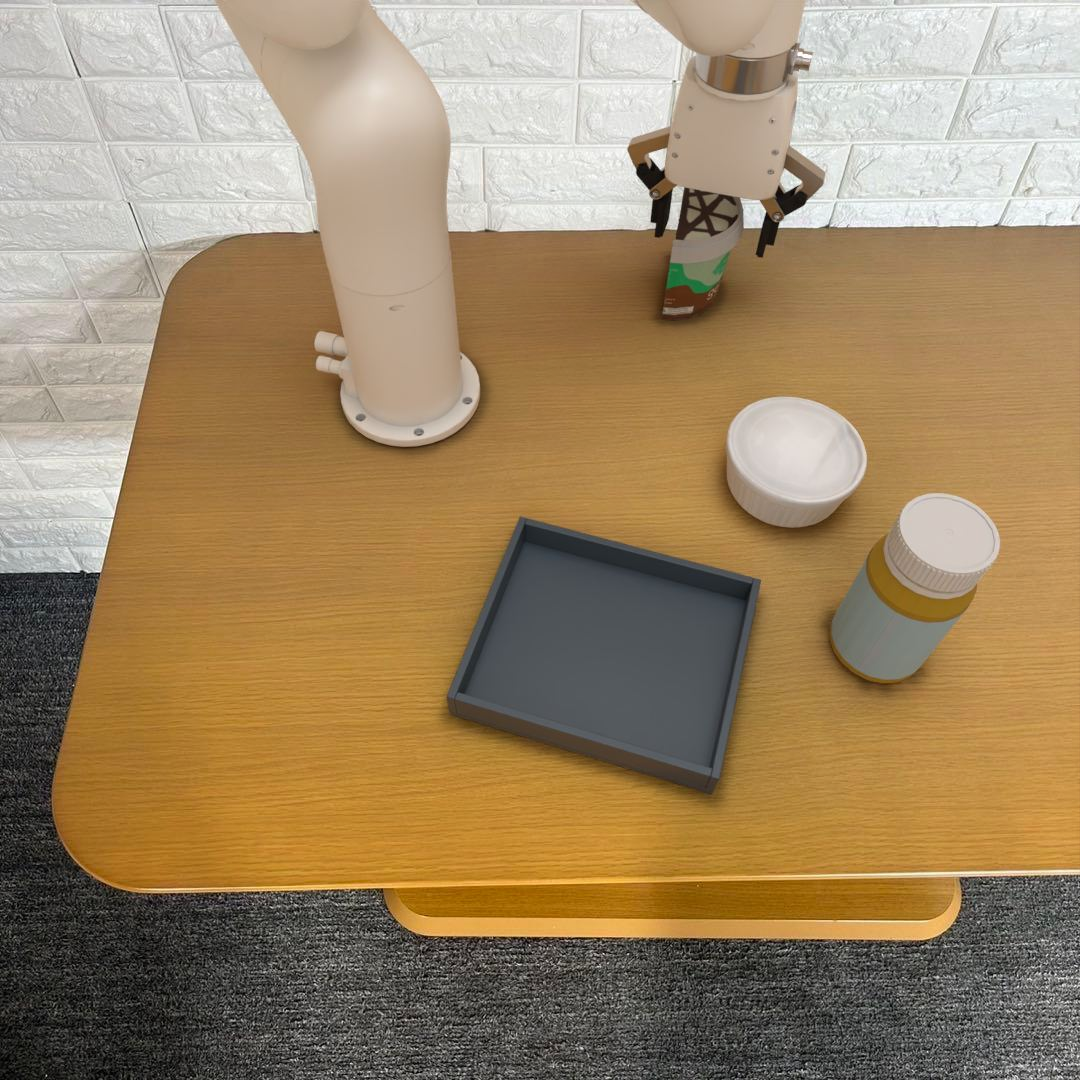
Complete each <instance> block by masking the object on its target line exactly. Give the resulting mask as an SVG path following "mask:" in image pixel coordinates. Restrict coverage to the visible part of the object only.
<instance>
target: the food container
mask: <svg viewBox="0 0 1080 1080" xmlns="http://www.w3.org/2000/svg"><path fill="white" fill-rule="evenodd" d="M741 199H742V198H739V197H734V196H728V195H723V194H717V193H712V192H707V191H701V190H696V189H690V188H685V187H683V191H682V198H681V205H680V211H679V217H678V221H677V222H678V223H677V227H676V232H675V239H673V241H672V247H671V252H670V253H671V254H670V260H669V267H668V274H667V280H666V287H665V294H664V301H663V308H662V315H661V320H666V321H678V320H679V321H680V320H686V319H687V320H689V319H691V318H694V317H697V316H699V315H702V314H704V313H705V312H706V311H708V309H710V308H711V307H712V306H713V304H714V303H715V301H716V299H717V295H718V292H719V289H720V286H721V282H722V279H723V276H724V273H725V270H726V267H727V263H728V260H729V256H730V253H731V250H732V249H734V248H735V247H736V246H737V244H738V243H739V242H740V241H741V238H742V236H743V233H744V229H745V225H744V224H745V222H744V221H745V219H744V218H745V217H744V216H745V215H744V207H743V203H742V200H741Z"/></svg>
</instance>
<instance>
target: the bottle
mask: <svg viewBox="0 0 1080 1080" xmlns="http://www.w3.org/2000/svg"><path fill="white" fill-rule="evenodd" d="M1000 548H1001V539H1000V533H999V531H998V527H997V526H996V524H995V523H994V521H993V520H992V518H991V517H990V516H989V515H988V514H987V513H986V511H984V510H983V509H982V508H980V507H979V506H977V505H976V504H975V503H973V502H971V501H969V500H967V499H965V498H963V497H961V496H957V495H954V494H950V493H943V492H933V493H925V494H923V495H918V496H916V497H915V498H913V499H912V500H910V501H909V502H907V503H906V504H905V505H904V506H903V508H902V509H901V510H900V512H899V514H898V516H897V517H896V519H895V521H894V522H893V524H892V526H891V528H890V531H888V533H886V534H884V535H883V536H881V538H880V539H878V540H877V541H876V542H875V544H873V546H872V548H871V550H870V551H869V553H868V555H867V556H866V558H865V560H864V561H863V563H862V566H861V567H860V569H859V571H858V573H857V574H856V576H855V577H854V579H853V581H852V583H851V584H850V587H849V589H848V590H847V592H846V594H845V596H844V598H843V599H842V601H841V603H840V604H839V606H838V608H837V610H836V612H835V614H834V616H833V618H832V620H831V623H830V625H829V641H830V645H831V648H832V650H833V652H834V654H835V655H836V657H837V659H838V660H839V662H840V663H841V664H842V665H844V666H845V667H846V668H847V669H848V670H849V671H850V672H851V673H853V674H855V675H857V676H858V677H860V678H861V679H862V678H863V679H864V680H867V681H869V682H874V683H879V684H893V683H899V682H902V681H904V680H906V679H909V678H910V677H912V676H913V675H914V674H915V673H916V672H918V670H919V669H920V668H921V667H922V666H923V664H924V663H925V662H926V661H927V659H928V658H929V657H930V656H931V654H932V653H934V651H935V650H936V649H937V647H938V646H939V645H940V643H941V642H942V641H943V639H944V638H946V635H948V633H949V632H950V631H951V630H952V628H953V627H954V626H955V625H956V623H957V622H958V621H959V619H960V618H962V616H963V614H964V613H965V612H966V611H967V609H968V608H969V607H970V605H971V603H972V602H973V601H974V598H975V596H976V594H977V589H978V582H980V581H981V579H983V577H984V576H985V575H986V574H987V572H988V571H989V570H990V568H991V567H992V565H993V564H994V563H995V561H996V560H997V557H999V552H1000Z"/></svg>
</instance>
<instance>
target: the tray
mask: <svg viewBox="0 0 1080 1080" xmlns="http://www.w3.org/2000/svg"><path fill="white" fill-rule="evenodd" d="M514 527H515V528H514V530H513V532H512V535H511V536H510V539H509V542H508V544H507V546H506V550H505V552H504V554H503V557H502V559H501V561H500V564H499V567H498V569H497V571H496V574H495V576H494V579H493V581H492V584H491V586H490V588H489V590H488V592H487V593H488V594H487V596H486V599H485V600H484V602H483V606H482V608H481V610H480V612H479V616H478V617H477V620H476V623H475V625H474V628H473V630H472V633H471V636H470V638H469V640H468V642H467V645H466V648H465V650H464V652H463V655H462V657H461V659H460V662H459V665H458V666H457V670H456V672H455V675H454V677H453V680H452V682H451V685H450V687H449V689H448V691H447V694H446V701H447V706H448V711H449V715H450V716H453V717H457V718H459V719H460V718H461V719H463V720H467V721H470V722H473V723H475V724H476V723H477V724H480V725H484V726H486V727H489V728H493V729H496V730H500V731H503V732H506V733H508V734H512V735H517V736H519V737H523V738H526V739H530V740H532V741H536V742H539V743H542V744H546V745H549V746H552V747H555V748H559V749H562V750H565V751H569V752H572V753H575V754H579V755H582V756H585V757H589V758H591V759H595V760H598V761H602V762H605V763H607V764H611V765H615V766H618V767H621V768H625V769H628V770H631V771H634V772H637V773H640V774H644V775H647V776H650V777H654V778H657V779H661V780H664V781H667V782H670V783H672V784H677V785H680V786H684V787H687V788H690V789H693V790H697V791H700V792H703V793H707V794H710V795H713V793H714V791H715V790H716V787H717V785H718V783H719V781H720V779H721V776H722V775H721V774H722V769H723V764H724V760H725V756H726V750H727V746H728V741H729V736H730V731H731V727H732V722H733V717H734V712H735V708H736V703H737V698H738V694H739V688H740V684H741V678H742V674H743V670H744V665H745V659H746V656H747V650H748V647H749V646H748V645H749V641H750V636H751V632H752V626H753V622H754V617H755V614H756V613H755V611H756V609H757V602H758V599H759V594H760V588H761V583H762V579H760V578H757V577H753V576H749V575H745V574H741V573H738V572H734V571H729V570H726V569H722V568H720V567H719V568H718V567H715V566H711V565H707V564H703V563H699V562H697V561H696V562H695V561H691V560H688V559H685V558H681V557H677V556H673V555H668V554H665V553H661V552H658V551H654V550H650V549H647V548H642V547H638V546H635V545H631V544H628V543H624V542H619V541H616V540H612V539H608V538H605V537H601V536H596V535H594V534H593V535H592V534H589V533H585V532H582V531H577V530H574V529H570V528H566V527H562V526H558V525H555V524H551V523H547V522H543V521H540V520H536V519H532V518H527V517H524V516H519V518H518V519H517V522H516V525H515V526H514Z"/></svg>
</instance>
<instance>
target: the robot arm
mask: <svg viewBox="0 0 1080 1080" xmlns="http://www.w3.org/2000/svg"><path fill="white" fill-rule="evenodd" d="M213 1H214V2H215V5H216V6H217V8H218V10H219V11H220V13H221V15H222V16H223V18H224V20H225V22H226V24H227V26H228V27H229V29H230V31H231V32H232V34H233V36H234V37H235V39H236V41H237V43H238V44H239V46H240V48H241V50H242V51H243V53H244V55H245V57H246V59H247V60H248V61H249V64H250V65H251V67H252V68H253V70H254V72H255V74H256V75H257V77H258V79H259V81H260V82H261V84H262V86H263V88H264V89H265V91H266V93H267V94H268V95H269V97H270V99H271V100H272V102H273V103H274V105H275V107H276V108H277V110H278V112H279V114H280V115H281V116H282V117H283V120H284V121H285V123H286V125H287V127H288V129H289V130H290V132H291V133H292V135H293V136H294V138H295V140H296V141H297V144H298V145H299V147H300V149H301V151H302V153H303V155H304V157H305V160H306V163H307V165H308V169H309V172H310V174H311V177H312V182H313V186H314V192H315V200H316V202H315V203H316V217H317V224H318V231H319V236H320V241H321V247H322V250H323V255H324V259H325V263H326V267H327V270H328V274H329V277H330V282H331V287H332V291H333V295H334V300H335V304H336V309H337V312H338V317H339V320H340V321H339V322H340V325H341V330H342V334H343V336H341V335H340V334H336V333H332V332H327V331H324V330H320V331H318V332H317V333H316V335H315V337H314V343H313V345H314V349H315V351H316V352H319V353H323V354H327V355H330V356H334V357H336V356H339V357H342V358H344V359H342V360H338V359H335V358H333V357H329V356H325V355H319V356H318V357H317V358H316V361H315V369H316V370H317V371H319V372H323V373H327V374H334V375H338V376H339V378H340V379H341V380H342V382H341V383H340V391H339V395H340V403H341V406H342V411H343V413H344V416H345V417H346V419H347V421H348V423H349V424H350V425H351V426H352V427H353V428H354V429H355V431H357V432H358V433H360V434H361V435H363V436H364V437H365V438H367V439H370V440H371V441H375V442H376V443H379V444H383V445H387V446H392V447H400V448H401V447H403V448H404V447H405V448H406V447H408V448H409V447H419V446H425V445H430V444H434V443H436V442H439V441H442V440H445V439H446V438H448V437H450V436H452V435H454V434H456V433H457V432H458V431H460V429H462V428H463V427H464V426H466V425H467V423H469V421H470V420H471V419H472V418H473V416H474V414H475V412H476V411H477V409H478V407H479V404H480V399H481V383H480V376H479V374H478V371H477V368H476V366H475V365H474V363H473V362H472V361H471V359H470V358H469V357H467V356H466V355H465V354H464V353H463V352H462V351H461V350H460V349H461V348H460V339H459V338H460V337H459V327H458V326H459V325H458V316H457V306H456V305H457V304H456V296H455V295H456V294H455V284H454V272H453V271H454V270H453V262H452V251H451V245H450V233H449V220H448V181H449V179H448V178H449V171H450V163H451V147H452V142H451V128H450V123H449V119H448V115H447V112H446V111H447V110H446V109H445V106H444V103H443V100H442V98H441V96H440V94H439V93H438V90H437V88H436V86H435V84H434V83H433V81H432V80H431V78H430V77H429V75H428V74H427V72H426V71H425V69H424V68H423V67H422V65H421V64H420V62H419V61H418V60H417V59H416V58H415V56H413V54H412V53H411V52H410V51H409V50H408V48H407V47H406V46H405V44H404V43H403V42H402V41H401V40H400V39H399V38H398V37H397V35H395V33H394V32H393V31H391V30H390V28H389V27H388V26H387V24H386V23H385V22H384V21H383V20H382V18H380V16H379V15H378V14H377V13H376V11H375V9H374V8H373V6H372V5H371V3H370V1H369V0H213ZM630 1H631V2H632V3H633V4H634V5H635V6H636V7H638V8H639V9H640V10H642V12H644V13H645V14H647V15H648V16H650V17H651V18H652V19H653V20H654V21H656V23H658V25H660V26H661V27H663V28H664V29H665V30H666V31H667V32H668V33H669V34H671V35H672V36H673V37H674V38H675V39H676V40H677V41H678V42H679V43H681V44H682V45H683V46H684V47H686V48H687V49H689V50H690V51H692V52H694V53H695V55H694V56H692V57H690V59H689V60H688V62H687V64H686V67H685V70H684V74H683V76H682V79H681V83H680V87H679V90H678V94H677V99H676V102H675V107H674V111H673V115H672V120H671V125H669V126H666V127H663V128H660V129H656V130H654V131H650V132H647V133H644V134H640V135H638V136H634V137H632V138H631V139H630V141H629V143H628V145H627V149H626V150H627V154H628V156H629V158H630V160H631V163H632V165H633V167H634V168H635V170H636V171H635V174H636V176H637V178H638V179H639V180H640V181H641V182H642V184H643V185H644V186H645V188H647V190H648V191H649V192H648V195H649V197H650V198H651V199H652V202H651V210H650V211H651V212H650V219H649V220H650V224H651V223H652V224H655V229H654V238H658V239H660V238H663V236H664V233H665V231H666V228H667V226H668V223H669V220H670V216H671V215H670V214H671V208H672V207H671V206H672V198H673V191H674V188H676V187H677V186H678V187H682V188H684V187H685V188H690V189H696V190H701V191H707V192H712V193H717V194H723V195H728V196H734V197H739V198H740V199H746V200H751V201H752V200H753V201H759V202H760V203H761V206H762V207H763V208H764V210H765V214H764V218H763V221H762V226H761V229H760V234H759V239H758V242H757V247H756V251H755V256H757V258H761V259H763V258H764V254H765V250H766V247H767V246H771V247H774V246H775V242H776V238H777V234H778V232H779V231H778V230H779V227H780V223H781V222H783V221H784V219H785V217H786V216H788V215H790V214H791V213H793V212H795V211H797V210H799V209H802V208H803V207H804V206H805V205H806V204H807V201H809V199H810V198H812V197H813V196H814V195H815V194H816V193H817V192H818V191H819V190H820V189H821V188H822V187H823V185H824V184H825V179H826V172H825V170H823V169H822V168H821V167H819V166H818V165H817V164H815V163H814V162H813V161H811V160H810V159H809V158H808V157H806V156H805V155H803V154H802V153H801V152H799V151H798V150H796V149H795V148H794V147H792V146H791V141H792V135H793V130H794V129H793V128H794V123H795V117H796V112H797V103H798V90H799V76H798V73H797V72H799V71H805V72H806V71H810V67H811V64H812V59H813V55H814V52H813V51H808V50H805V48H802V47H800V46H801V43H800V42H798V38H799V33H800V28H801V23H802V19H803V14H804V10H805V6H806V1H807V0H630ZM664 149H666V153H665V160H664V167H662V168H661V169H660V167H659V166H658V165H657V164H656V163H655V161H654V160H653V159H652V158H651V157H650V154H651V153H655V152H657V151H660V150H664ZM784 170H786V171H787V172H788V173H790V174H791V175H793V176H794V177H795V178H797V179H799V181H801V183H800V184H798V185H795V186H794V187H792V188H791V189H789V190H787V191H786V189H785V188H784V186H783V185H782V182H781V179H782V177H783V173H784Z"/></svg>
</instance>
